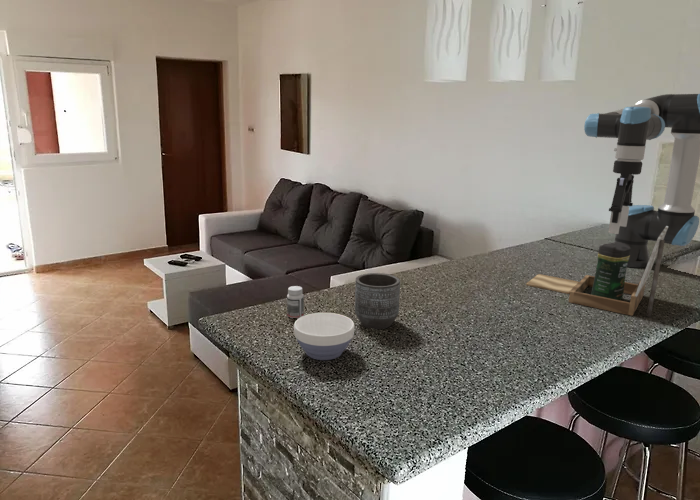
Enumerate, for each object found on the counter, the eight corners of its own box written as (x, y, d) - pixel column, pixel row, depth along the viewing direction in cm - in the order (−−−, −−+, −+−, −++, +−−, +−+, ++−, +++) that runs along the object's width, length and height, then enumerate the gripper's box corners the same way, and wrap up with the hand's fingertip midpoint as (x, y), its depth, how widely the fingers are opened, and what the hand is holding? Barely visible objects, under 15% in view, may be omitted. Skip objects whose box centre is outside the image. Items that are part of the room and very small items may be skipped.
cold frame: (584, 284, 179) (594, 217, 173) (658, 298, 167) (672, 226, 160) (568, 302, 162) (578, 227, 156) (649, 319, 149) (664, 239, 143)
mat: (538, 275, 188) (538, 273, 188) (578, 283, 180) (579, 281, 180) (525, 285, 177) (526, 283, 177) (568, 293, 170) (568, 292, 169)
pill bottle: (296, 311, 150) (296, 284, 148) (307, 316, 147) (307, 288, 145) (283, 315, 147) (283, 287, 145) (294, 320, 144) (293, 292, 142)
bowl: (305, 371, 116) (305, 340, 114) (286, 345, 129) (286, 316, 127) (363, 360, 122) (364, 330, 120) (340, 336, 134) (340, 309, 132)
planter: (347, 318, 146) (348, 275, 143) (385, 312, 151) (387, 270, 147) (365, 335, 135) (367, 289, 132) (406, 328, 140) (408, 283, 137)
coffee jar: (610, 305, 160) (619, 247, 155) (586, 298, 166) (594, 242, 161) (626, 299, 165) (636, 243, 160) (603, 292, 171) (611, 238, 167)
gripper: (622, 157, 166) (612, 221, 172) (606, 161, 147) (595, 234, 152) (648, 158, 162) (637, 225, 167) (636, 163, 142) (623, 238, 148)
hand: (617, 229), depth 160 cm, fingers open, 13 cm apart
